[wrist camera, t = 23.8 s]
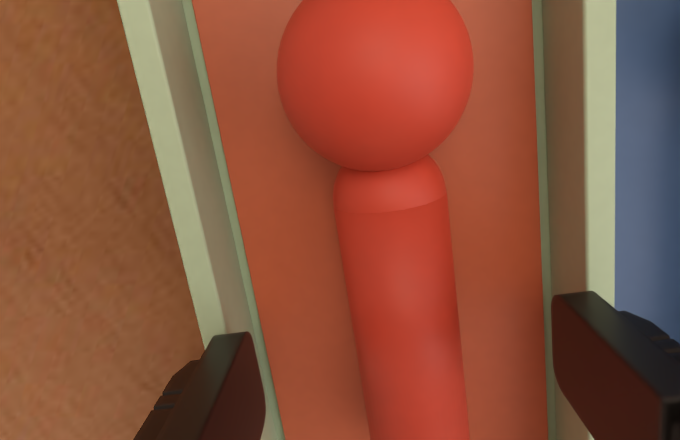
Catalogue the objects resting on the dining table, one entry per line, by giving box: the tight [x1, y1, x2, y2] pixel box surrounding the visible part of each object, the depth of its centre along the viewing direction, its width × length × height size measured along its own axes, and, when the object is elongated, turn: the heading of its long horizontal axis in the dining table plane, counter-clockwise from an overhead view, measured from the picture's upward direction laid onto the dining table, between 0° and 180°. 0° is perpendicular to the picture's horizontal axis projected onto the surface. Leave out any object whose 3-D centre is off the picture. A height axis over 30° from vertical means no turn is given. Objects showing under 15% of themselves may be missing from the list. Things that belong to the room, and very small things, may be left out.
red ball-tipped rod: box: [277, 0, 474, 440], centre depth 10 cm, size 12×4×4 cm, turn 9°
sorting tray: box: [117, 0, 680, 440], centre depth 11 cm, size 17×17×2 cm
